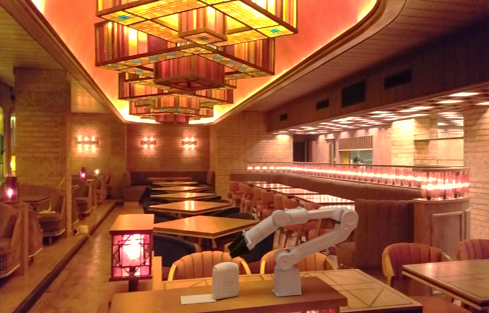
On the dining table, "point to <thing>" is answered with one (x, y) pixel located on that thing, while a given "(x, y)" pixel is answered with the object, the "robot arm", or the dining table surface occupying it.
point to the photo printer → (225, 280)
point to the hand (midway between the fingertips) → (229, 252)
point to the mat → (197, 299)
